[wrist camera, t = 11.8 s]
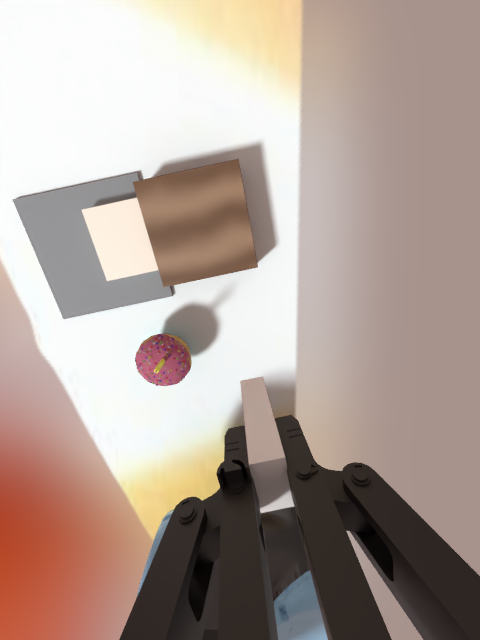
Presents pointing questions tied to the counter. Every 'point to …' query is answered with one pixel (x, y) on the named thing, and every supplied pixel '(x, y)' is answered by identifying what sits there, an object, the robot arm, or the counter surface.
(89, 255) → the mat
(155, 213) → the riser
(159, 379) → the cupcake
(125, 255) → the cream rectangular block
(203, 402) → the counter surface
